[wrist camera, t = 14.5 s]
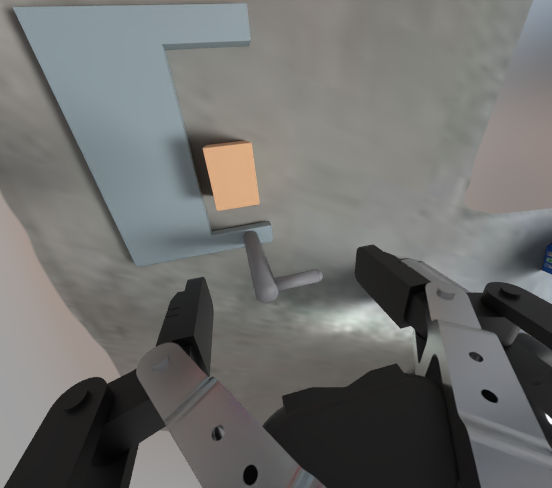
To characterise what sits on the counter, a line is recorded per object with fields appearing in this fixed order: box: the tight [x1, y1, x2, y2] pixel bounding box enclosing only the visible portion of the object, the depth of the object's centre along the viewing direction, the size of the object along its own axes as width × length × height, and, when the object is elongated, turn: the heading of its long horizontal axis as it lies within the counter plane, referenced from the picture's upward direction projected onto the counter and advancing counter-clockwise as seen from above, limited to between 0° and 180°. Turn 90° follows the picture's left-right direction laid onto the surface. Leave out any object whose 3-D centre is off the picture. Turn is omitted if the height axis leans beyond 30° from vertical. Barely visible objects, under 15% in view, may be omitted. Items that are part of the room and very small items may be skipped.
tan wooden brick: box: [203, 141, 260, 211], centre depth 24 cm, size 5×6×6 cm
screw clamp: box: [13, 4, 323, 303], centre depth 19 cm, size 21×24×14 cm
